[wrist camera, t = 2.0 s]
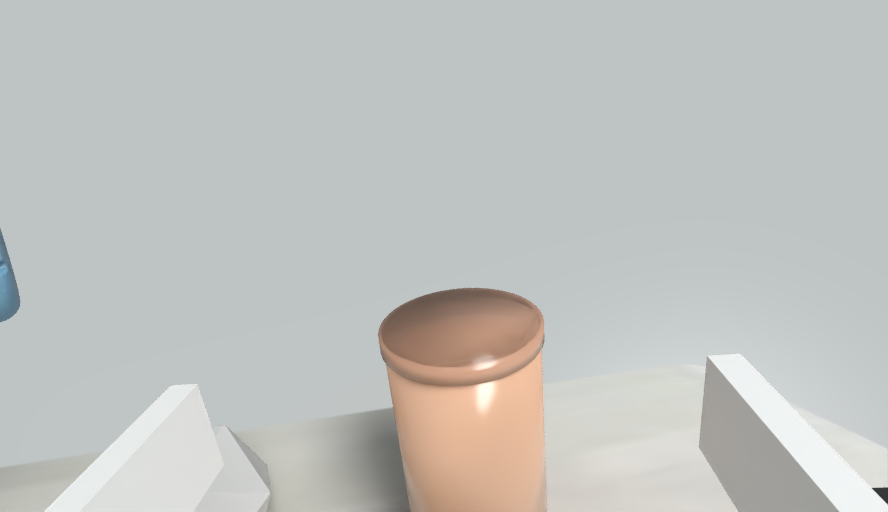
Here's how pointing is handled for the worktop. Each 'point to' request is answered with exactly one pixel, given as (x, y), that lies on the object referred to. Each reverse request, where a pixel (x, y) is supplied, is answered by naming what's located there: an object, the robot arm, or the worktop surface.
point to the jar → (468, 400)
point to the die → (237, 478)
